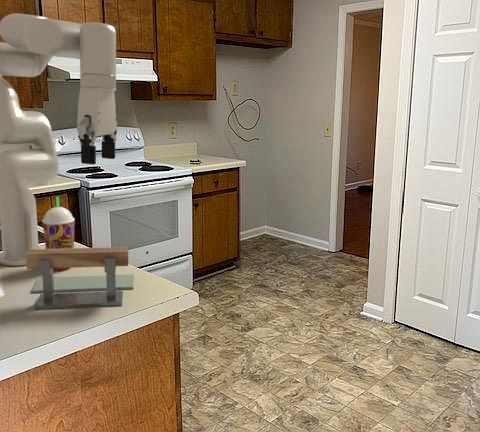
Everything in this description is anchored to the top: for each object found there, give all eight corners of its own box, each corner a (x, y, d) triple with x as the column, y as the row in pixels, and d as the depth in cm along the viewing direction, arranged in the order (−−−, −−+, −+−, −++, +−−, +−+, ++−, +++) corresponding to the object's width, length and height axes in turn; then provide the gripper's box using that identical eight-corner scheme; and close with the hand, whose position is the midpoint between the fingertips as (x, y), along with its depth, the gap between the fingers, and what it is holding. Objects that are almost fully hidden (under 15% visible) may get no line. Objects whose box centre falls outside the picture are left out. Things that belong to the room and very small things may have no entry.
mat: (39, 279, 128) (39, 277, 128) (133, 276, 133) (133, 274, 133) (32, 292, 119) (31, 290, 119) (133, 289, 124) (133, 286, 124)
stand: (40, 297, 117) (38, 251, 115) (122, 293, 121) (122, 249, 118) (34, 309, 110) (31, 260, 108) (121, 305, 114) (121, 258, 112)
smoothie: (66, 273, 133) (63, 201, 129) (38, 270, 135) (34, 198, 130) (82, 264, 141) (79, 195, 137) (55, 261, 143) (52, 193, 138)
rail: (30, 263, 113) (29, 249, 112) (128, 261, 118) (128, 247, 117) (27, 268, 110) (26, 253, 109) (128, 266, 114) (128, 251, 113)
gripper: (100, 83, 117) (100, 155, 121) (61, 81, 100) (63, 164, 105) (130, 85, 116) (129, 157, 120) (95, 83, 99) (96, 167, 103)
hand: (98, 161), depth 112 cm, fingers open, 9 cm apart
